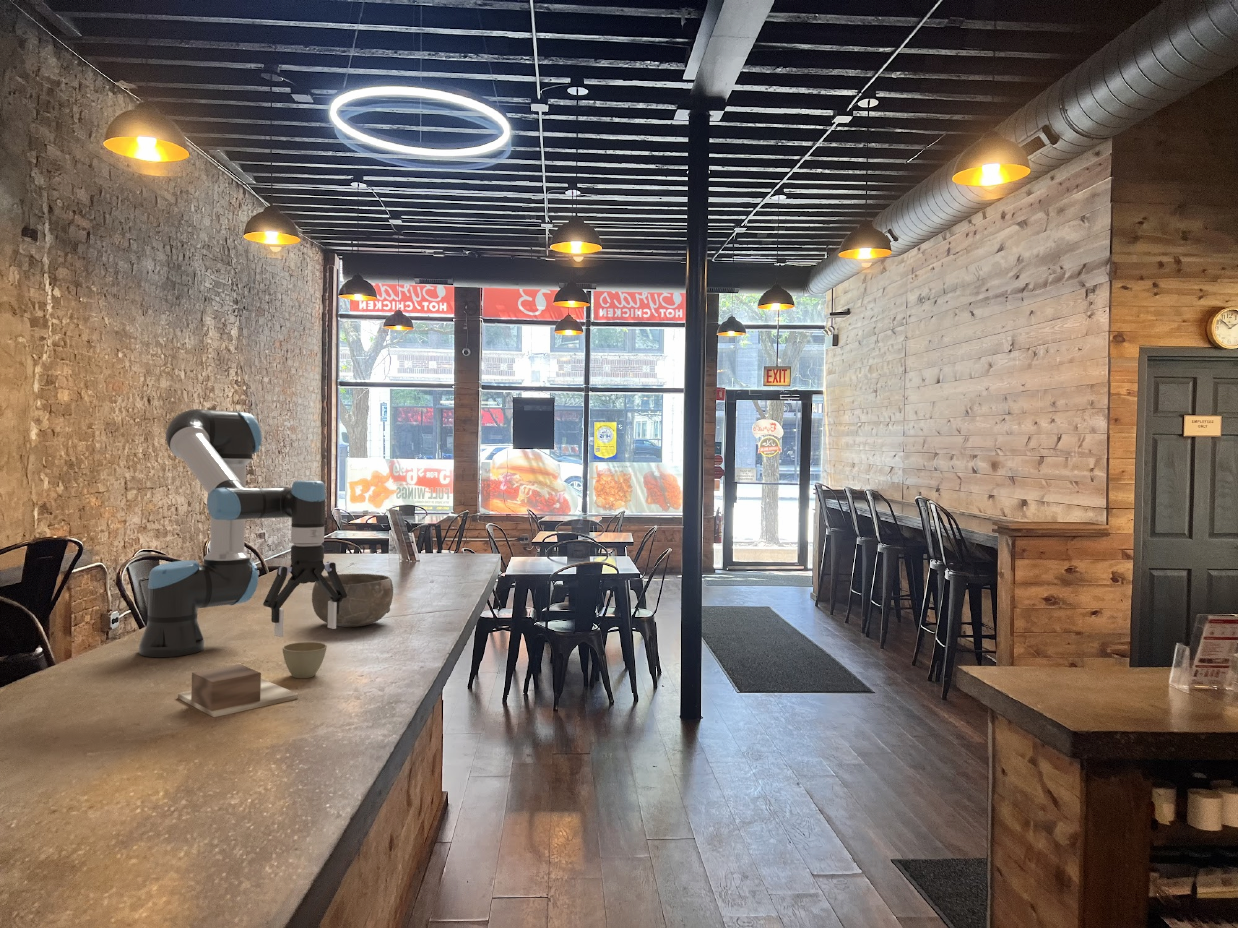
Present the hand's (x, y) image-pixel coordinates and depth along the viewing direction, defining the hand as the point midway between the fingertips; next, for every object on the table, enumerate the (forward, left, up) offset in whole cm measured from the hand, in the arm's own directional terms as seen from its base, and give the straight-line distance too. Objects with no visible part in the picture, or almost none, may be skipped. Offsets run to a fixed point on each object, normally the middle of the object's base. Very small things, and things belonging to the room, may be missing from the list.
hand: (306, 632), depth 194 cm
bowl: (-42, +39, -11) cm, 58 cm away
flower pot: (0, 0, -11) cm, 11 cm away
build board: (+7, -19, -11) cm, 23 cm away
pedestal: (+10, -23, -10) cm, 27 cm away
